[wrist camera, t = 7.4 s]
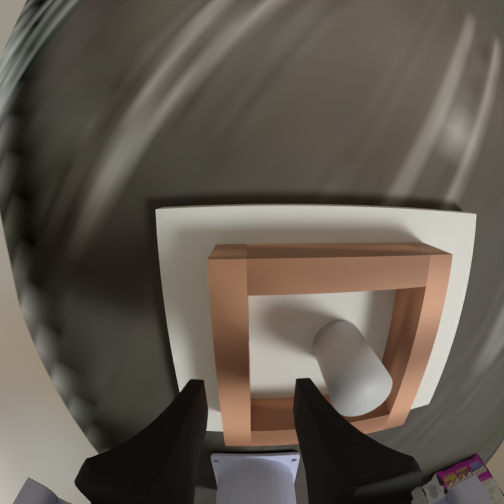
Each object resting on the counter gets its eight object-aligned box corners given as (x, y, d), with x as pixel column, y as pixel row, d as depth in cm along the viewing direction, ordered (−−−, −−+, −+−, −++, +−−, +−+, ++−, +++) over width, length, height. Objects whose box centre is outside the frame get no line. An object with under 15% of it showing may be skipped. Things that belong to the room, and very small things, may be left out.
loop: (388, 398, 17) (403, 424, 14) (228, 414, 17) (225, 445, 14) (423, 242, 14) (453, 254, 11) (216, 244, 14) (207, 259, 11)
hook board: (421, 393, 19) (454, 440, 13) (191, 416, 19) (177, 479, 13) (463, 211, 15) (529, 226, 9) (163, 206, 15) (111, 221, 9)
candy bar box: (419, 487, 25) (448, 555, 9) (434, 471, 24) (469, 543, 8) (463, 469, 25) (495, 524, 9) (478, 452, 24) (514, 509, 8)
